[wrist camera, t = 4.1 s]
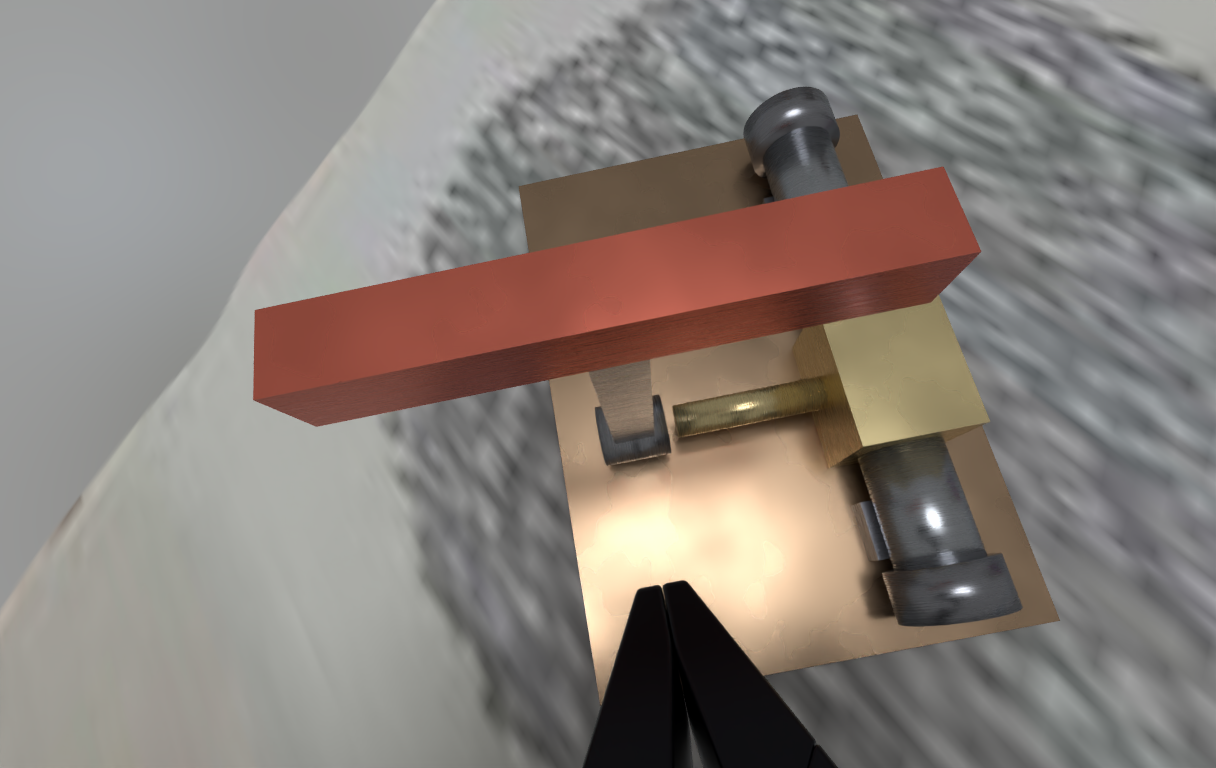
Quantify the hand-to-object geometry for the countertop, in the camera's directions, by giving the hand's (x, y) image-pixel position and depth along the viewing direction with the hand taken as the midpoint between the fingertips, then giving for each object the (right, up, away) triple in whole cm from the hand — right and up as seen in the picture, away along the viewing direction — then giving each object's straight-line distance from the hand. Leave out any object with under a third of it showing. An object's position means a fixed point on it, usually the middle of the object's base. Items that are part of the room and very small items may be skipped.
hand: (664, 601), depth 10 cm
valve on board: (+5, +4, +15) cm, 16 cm away
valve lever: (0, +2, +13) cm, 13 cm away
